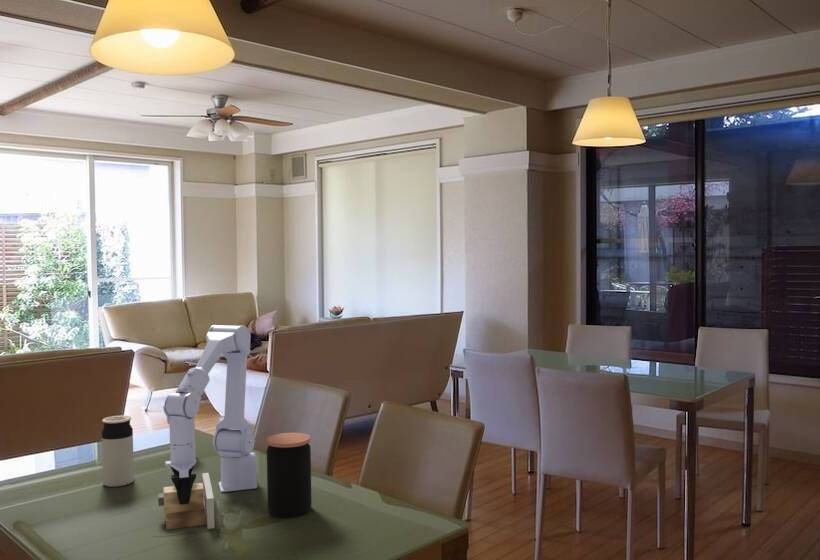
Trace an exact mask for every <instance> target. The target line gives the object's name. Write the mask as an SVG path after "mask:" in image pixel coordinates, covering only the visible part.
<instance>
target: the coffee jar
mask: <svg viewBox="0 0 820 560" xmlns="http://www.w3.org/2000/svg"><path fill="white" fill-rule="evenodd" d="M310 442H311V435H310V434H308V433H307V434H306V433H303V432H282V433H276V434H273V435H270V436H268V437H266V444H267V445H268V446H267V449H266V480H267V481H266V484H267V489H266V490H267V509H268V511H269V513H270V514H271V515H272V516H275V517H278V518H287V519H288V518H296V517H299V516H303V515H305V514H307V513H309V511H310V509H311V507H312V457H311V456H312V455H311V453H312V452H311V451H312V450H311V449H312V448H311V445H310Z"/></svg>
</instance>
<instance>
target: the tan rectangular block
mask: <svg viewBox="0 0 820 560" xmlns="http://www.w3.org/2000/svg"><path fill="white" fill-rule="evenodd" d="M157 494H158V507H163V512H164V513H163V514H164V515H166V514H169V513H177V512H185V511H193V510H201V509H204V494H203V482H198V483H193V486H192V490H191V496H190V501H189V504H183V505H180V503H179V500H178V495H177V490H176V487H175V485H172V486H164V487H163V492H162V493H161V492H160V493H157Z"/></svg>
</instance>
